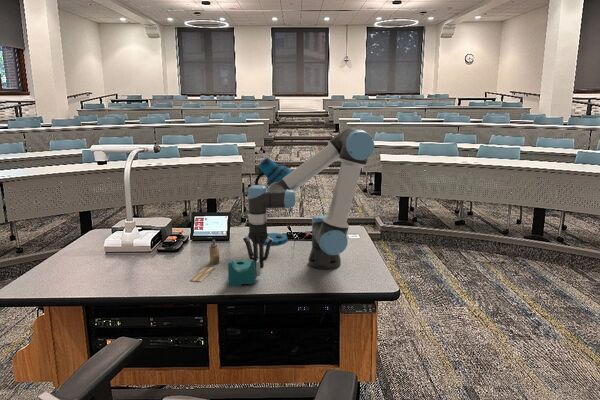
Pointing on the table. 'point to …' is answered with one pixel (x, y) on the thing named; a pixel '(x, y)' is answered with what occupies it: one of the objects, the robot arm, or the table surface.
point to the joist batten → (202, 274)
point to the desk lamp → (273, 175)
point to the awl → (214, 253)
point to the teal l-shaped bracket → (241, 272)
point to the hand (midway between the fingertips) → (259, 274)
